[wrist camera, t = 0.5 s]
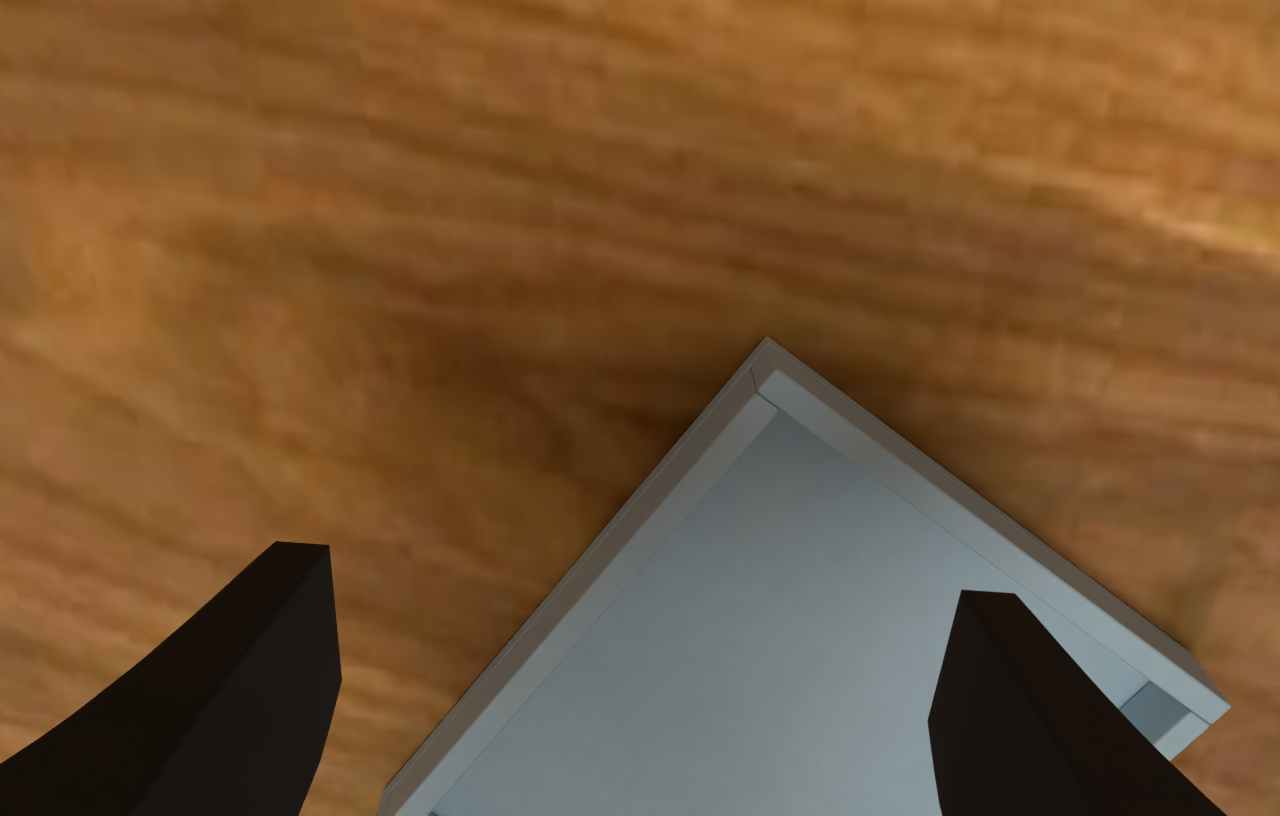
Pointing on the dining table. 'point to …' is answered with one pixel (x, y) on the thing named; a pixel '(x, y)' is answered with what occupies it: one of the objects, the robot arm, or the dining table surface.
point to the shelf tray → (773, 632)
